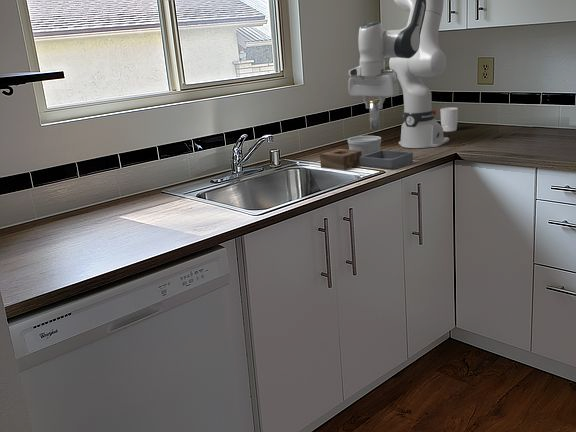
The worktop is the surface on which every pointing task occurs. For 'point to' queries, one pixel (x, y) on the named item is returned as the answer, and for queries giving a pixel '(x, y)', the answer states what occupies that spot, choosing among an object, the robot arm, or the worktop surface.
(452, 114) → the white cup
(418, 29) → the robot arm
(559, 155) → the worktop surface
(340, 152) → the walnut pin block
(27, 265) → the worktop surface
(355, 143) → the ramekin
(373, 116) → the steel pin
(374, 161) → the slate tray
